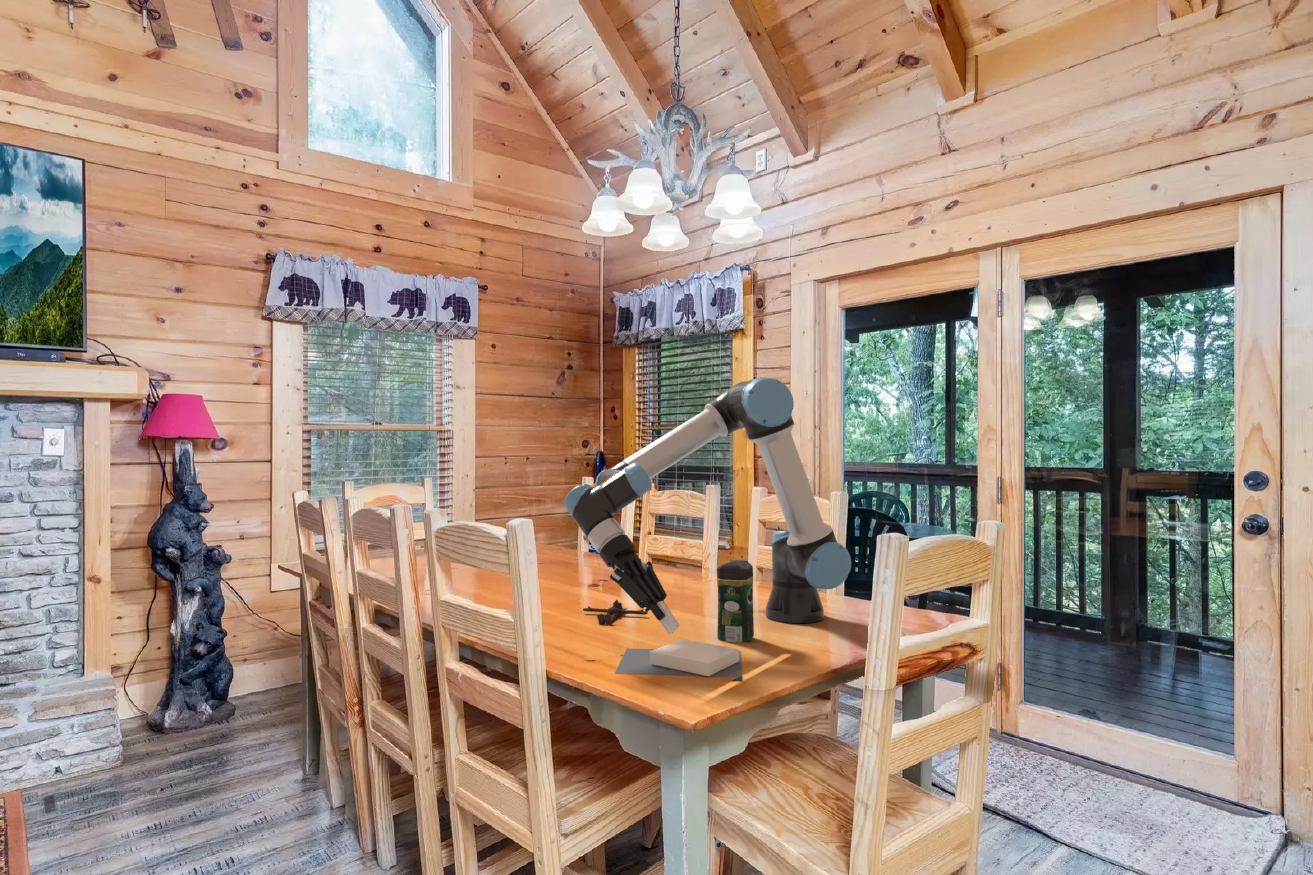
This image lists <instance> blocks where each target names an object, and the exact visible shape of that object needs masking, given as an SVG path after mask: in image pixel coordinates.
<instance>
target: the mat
mask: <svg viewBox="0 0 1313 875" xmlns="http://www.w3.org/2000/svg"><path fill="white" fill-rule="evenodd" d="M655 649H656V648H630V647H628V648H626V649H625V652H624V653H623V655H622V657H621V659H620V662H619V663H618V666H617V668H616V670H615V671H614V674H615V675H642V676H643V675H648V676H649V675H650V676H651V675H652V676H679V677H680V676H683V677H686V676H687V677H703V676H702V675H697V674H692V673H688V672H683V671H678V670H673V669H669V668H664V667H659V666H655V665H653V664H650V651H652V650H655ZM710 677H714V678H715V677H719V678H720V677H722V678H734V679H732V680H731V682H743V677H744V676H743V665H742V652H741V650H739V662H737V663H735V664H733V665H731V666H729V667H727V668H725V669H723V670H721V671H719V672H717V673H715V674H713V675H711V676H710Z"/></svg>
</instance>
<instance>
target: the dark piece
mask: <svg viewBox="0 0 1313 875" xmlns="http://www.w3.org/2000/svg"><path fill="white" fill-rule="evenodd" d="M582 611H584V612H589V613H591V612H592V613H593V612H595V613H598V614H597V615H596V617H597V621H598V625H599V624H600V625H604V623H605V625H611V624H612V623H613V621H614V620H615V619H616V618H618V617H619V615H621V614H622V615H623V614H624V615H629V614H630V615H643V616H644V615H647V614H648V612H649V611H648V612H646V611H645V609H644V608H643V609H642V608H641V609H640V610H633V609H630V610H629V609H628V607H623V603H622V602H619V599H615V601H614V602H613V603H612V607H611V606H610V607H608V608H597V607H596V608H593V607H591V606H589V605H587V607H584V608H582Z"/></svg>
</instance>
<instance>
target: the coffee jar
mask: <svg viewBox="0 0 1313 875" xmlns="http://www.w3.org/2000/svg"><path fill="white" fill-rule="evenodd" d="M716 571H717V572H716V573H717V574H716V581H717V633H716V634H717V640H718V641H721V642H726V643H727V642H728V643H737V644H741V643H749V642H751V641H752V640H753V638H754V635H755V633H754V632H755V629H754V628H755V627H754V624H755V623H754V568H753V564H751V563H750V562H749V561H747V560H744V559H743V560H740V559H731V560H730V561H728V562H725V563H722V564H721V565H719V566H718V567H717V568H716Z"/></svg>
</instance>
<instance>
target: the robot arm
mask: <svg viewBox="0 0 1313 875" xmlns="http://www.w3.org/2000/svg"><path fill="white" fill-rule="evenodd" d="M794 406H795V402H794V397H793V394H792V392H791V389H790V388H789V387H788V386H787V385H786V384H785V383H784V382H782V381H781V380H778V379H776V378H773V377H756V378H753V379H749V380H746V381H740V382H738V383H736V384H734V385H732V386H731V387H730V388H728V389H727V390H725V391H724V392H722V393H721V394H720V395H719V396H717V397H716V398H714V399H712V400H711V401H709V402H708V403H706V404H705V405H704V409H703V410H702V411H701V412H699V413H698V414H696V415H694V416H692V417H691V418H690V419H687V420H686V421H684V422H683V423H682V424H680V425H678V426H677V427H675V428H673V429H672V430H671V431H668V432H667V433H665V434H664V435H662V436H661V437H659V438H657V439H656V440H654V441H653V442H651V443H649V444H647V445H646V446H644V447H643V448H642V449H640V450H638V451H636V452H634V453H633V454H632V455H630V456H628V457H626V458H625V459H623V460H622V461H621V462H618V463H617V464H616V465H613V466H612V467H609V468H606V469H604V470H603V469H602V471H601V472H599V473H598V475H597V476H596V480H595V487H593V486H591V484H589V483H582V484H580V485H576V486H575V487H574V488H571V490H570V491H568V493H567V494H566V496H565V497H564V506H565V508H566V509H567V511H568V513H569V514H570V516H571V517H572V519H573V521H574V522H575V523H576V524H577V526H578V528H580V530H581V531H582V533H583V534H584V535H585V537H586V538H587V539H588V541H589V542H590V543H591V545H592V547H593V548H594V549H595V551H596V552H597V553H599V557H600V558H601V559H602V561H603V562H604V564H605V565H606V567H607V568H612V570H613V571H612V572H611V574H610V575H609V579H611V580H612V581H613V582H615V583H617V584H618V586H619V587H620V588H621V589H622V590H623V591H624V592H625V593H626V594H627V595H628V596H629V597H630V598H631V599H632V600H633V602H635V604H636V605H637V606H638V607H639V608H640V609H641V610H642V609H644V608H645V609H644V611H646V612H649V611H651V613H652V615H653V616H654V617H655V619H657V620H658V622H660V625H661V626H662V627H663V628H664V630H665V631H666V633H667V634H668V635H672V634H674V633H675V632H676V631H677V630H678V629H679V628H680V627H681V624H680V622H679V621H678V620H677V619H676V617H675V616H674V614H673V613H672V611H671V610H670V609H669V608H670V607H668V605H667V604H666V602H665V599H667V597H668V594H667V593H666V591H665V589H664V587H663V585H662V583H661V582H660V580H659V578H658V576H657V574H656V571H654V568H653V563H652V562H651V561H647V562H643V561H642V559H641V558H640V557H639V556H637V554H636V552H635V550H636V545H635V544H634V543H633V541H632V540H631V539H630V537H629V536H628V535H627V534H626V532H625V530H624V529H623V527H622V526H621V525H620V524H619V522H618V521H617V520H616V519H615V517H614V515H615V514H617V513H618V512H619V511H621V510H622V509H624V508H626V507H627V506H629V505H630V504H631V503H634V502H635V501H636V500H638V499H639V498H642V497H643V496H644V495H645V494H646V493H648V492H649V491H651V489H652V486H653V483H652V480H651V479H653V478H654V477H655V476H657V475H659V474H660V473H662V472H663V471H665V470H667V469H668V468H670V467H672V466H673V465H675V464H676V463H678V462H680V461H682V460H683V459H684V458H686V457H687V456H689V455H691V454H693V453H694V452H695V451H697V450H699V449H700V448H702V447H703V446H705V445H707V444H708V443H710V442H712V441H713V440H715V439H716V438H718V437H727V436H728V435H730V434H732V433H733V432H736V431H738V430H742V429H744V430H745V433H746V435H747V439H748V441H750V442H752V443H754V444H756V445H757V447H758V451H759V452H760V455H761V458H762V460H763V464H764V467H765V469H766V472H767V474H768V477H769V480H770V483H771V486H772V488H773V491H774V493H775V495H776V498H777V502H778V504H779V506H780V509H781V513H782V515H783V517H784V520H785V523H786V526H787V529H788V530H777V531H775V532H774V533H773V535H772V543H771V547H772V548H771V552H772V553H771V554H772V559H771V560H772V563H771V564H772V566H771V567H772V573H771V574H772V585H771V586H772V587H771V591H770V594H769V597H768V599H767V603H766V605H765V606H766V607H765V616H766V618H768V619H770V620H772V621H776V622H781V623H791V624H811V623H816V622H817V623H818V622H821V621H823V620H824V618H825V612H824V611H825V610H824V607H823V603H822V600H821V597H820V594H819V593H820V592H819V591H818V589H822V590H832V589H833V590H834V589H836V588H837V587H839V586H841V585H842V584H843V583H844V582H845V581H846V580H847V578H848V576H849V573H850V572H851V568H852V558H851V555H850V554H851V553H849V551H848V549H847V548H846V547H845V546H844V545H842V544H841V543H839V542H838V540H837V537H836V534H835V533H834V529H833V527H832V526H831V525H829V524H827V523H825V522H824V520H823V517H822V515H821V513H820V510H819V507H818V504H817V502H816V501H817V500H816V499H815V496H814V494H813V490H812V487H811V485H810V483H809V482H810V481H809V479H808V476H807V474H806V472H805V468H804V466H803V462H802V459H801V456H800V454H799V452H798V451H799V450H798V449H797V446H796V443H795V441H794V438H793V435H792V431H793V428H794V427H795V422H794V419H793V414H792V412H793V410H794V408H795V407H794Z"/></svg>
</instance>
